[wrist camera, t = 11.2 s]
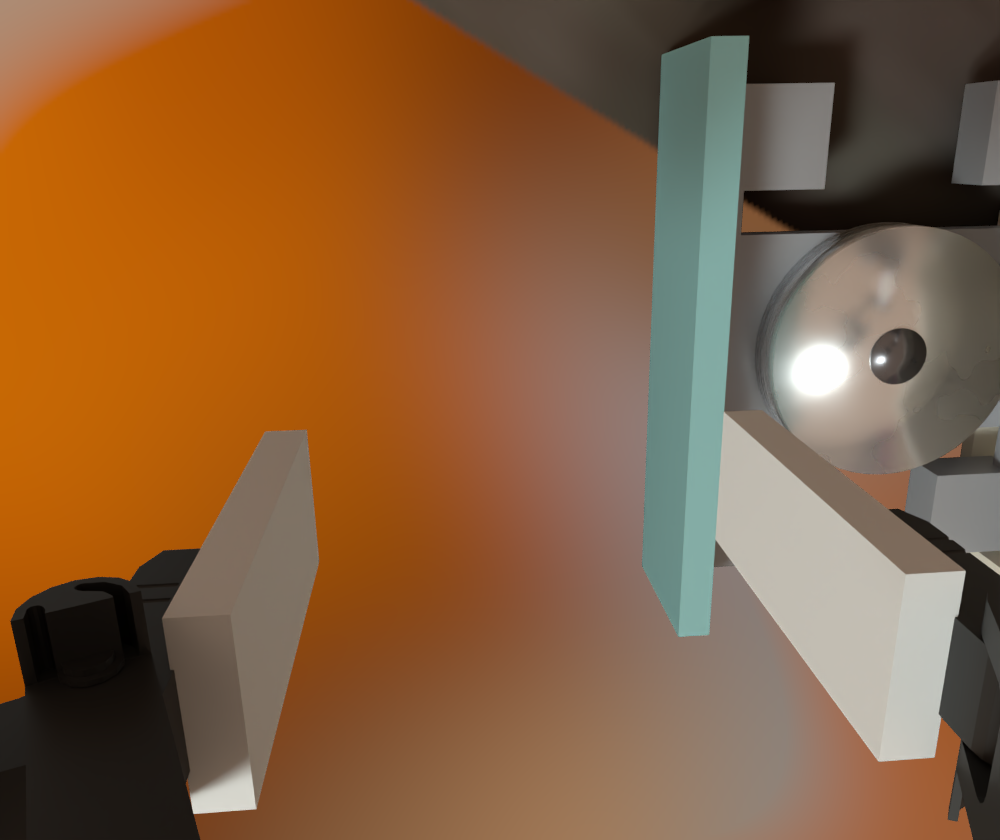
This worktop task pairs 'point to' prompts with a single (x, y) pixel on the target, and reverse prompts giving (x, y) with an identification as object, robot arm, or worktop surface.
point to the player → (983, 445)
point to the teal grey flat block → (757, 301)
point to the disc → (883, 346)
